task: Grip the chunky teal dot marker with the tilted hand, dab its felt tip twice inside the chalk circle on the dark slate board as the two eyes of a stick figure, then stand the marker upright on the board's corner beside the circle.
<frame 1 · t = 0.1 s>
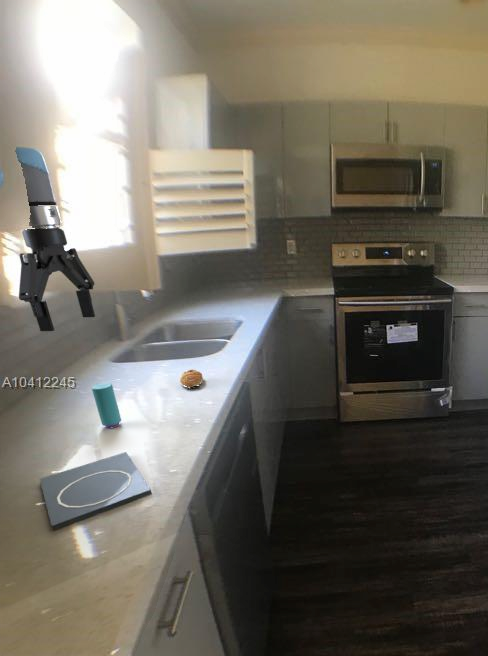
hand: (69, 323, 107), 27 cm above the worktop, tool pointing down, fingers open, 13 cm apart
dot marker: (112, 425, 118), on the worktop
pastry: (193, 384, 145), on the worktop
slate board: (95, 488, 91), on the worktop
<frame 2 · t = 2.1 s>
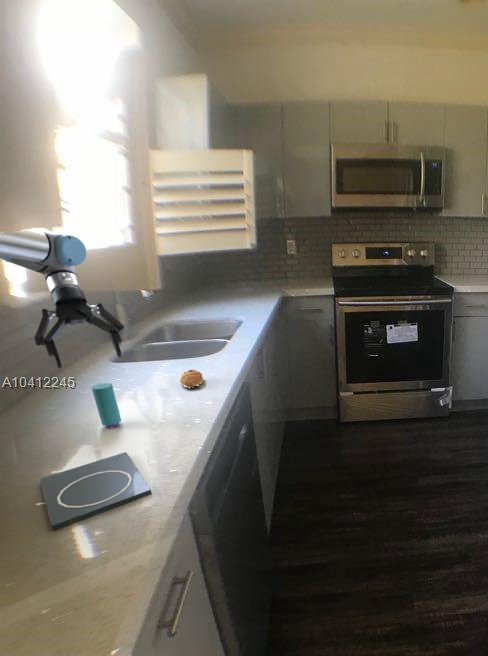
hand: (90, 359, 119), 16 cm above the worktop, tool tilted 45°, fingers open, 13 cm apart
nothing on the worktop moved.
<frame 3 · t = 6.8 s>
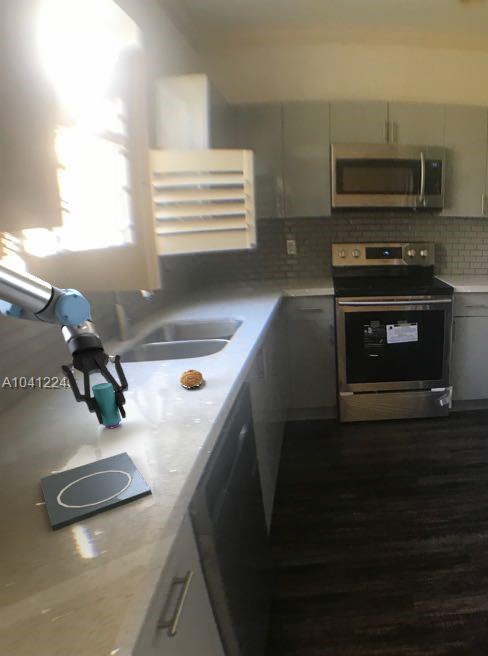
hand: (112, 418, 114), 3 cm above the worktop, tool tilted 45°, fingers closed on dot marker, 4 cm apart
dot marker: (112, 425, 118), on the worktop, touching gripper
everything else where it was.
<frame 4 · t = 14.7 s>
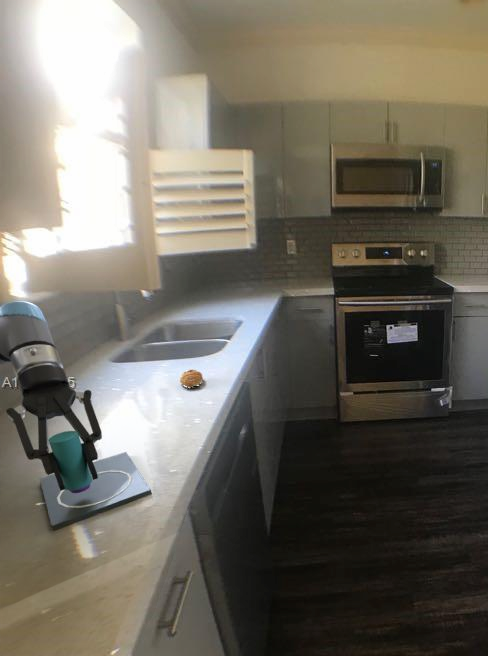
hand: (78, 481, 82), 6 cm above the worktop, tool tilted 45°, fingers closed on dot marker, 4 cm apart
dot marker: (80, 488, 86), point 3 cm above the worktop, touching gripper
everything else where it was.
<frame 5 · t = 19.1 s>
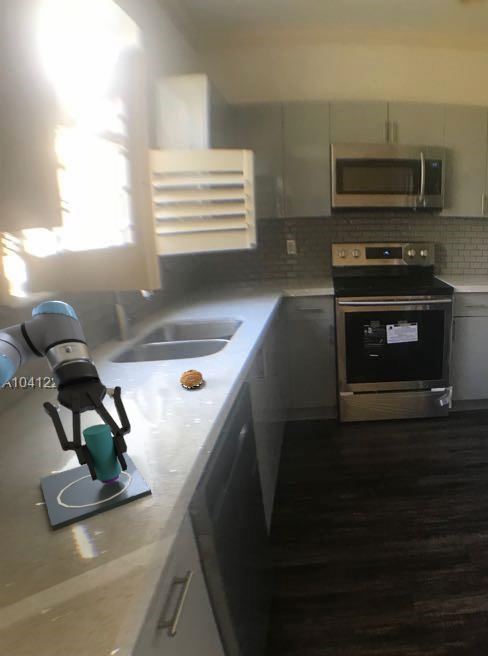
hand: (109, 472, 87), 5 cm above the worktop, tool tilted 45°, fingers closed on dot marker, 4 cm apart
dot marker: (109, 478, 91), point 2 cm above the worktop, touching gripper
everything else where it was.
when the fingers open (4 cm above the worktop, at t = 22.9 s): dot marker stays where it is, resting on slate board.
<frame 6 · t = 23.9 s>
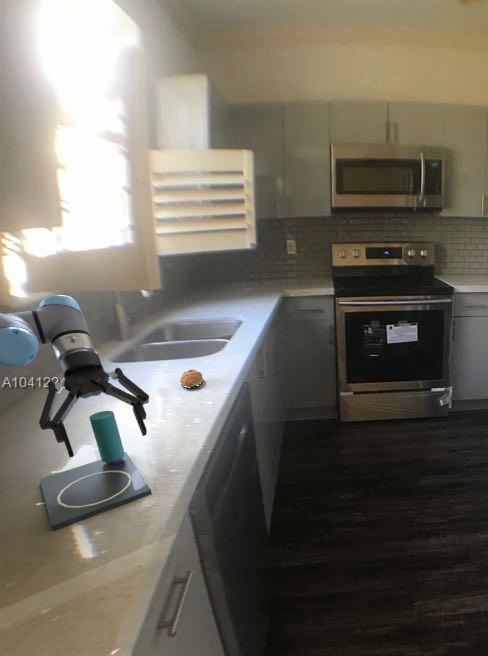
hand: (109, 443, 95), 6 cm above the worktop, tool tilted 45°, fingers open, 13 cm apart
dot marker: (114, 461, 99), point 1 cm above the worktop, touching slate board
everything else where it was.
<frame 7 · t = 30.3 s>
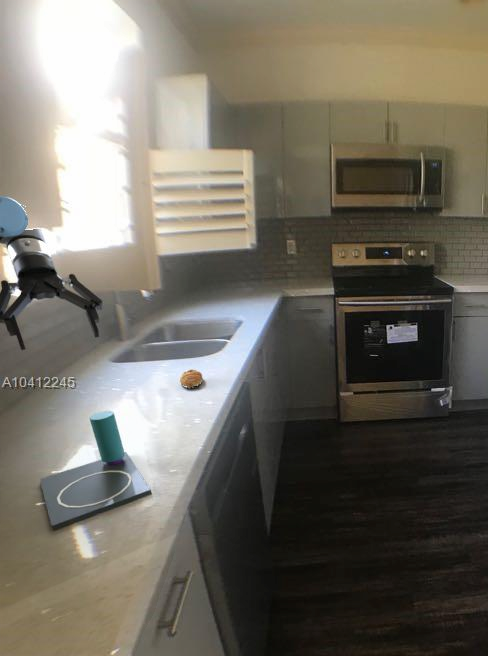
hand: (61, 340, 99), 26 cm above the worktop, tool tilted 45°, fingers open, 13 cm apart
nothing on the worktop moved.
at the end: dot marker 0.1 cm from the target spot on the slate board, point 1.0 cm above the slate board's base; dot marker tilted 0°; the gripper is holding nothing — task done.
